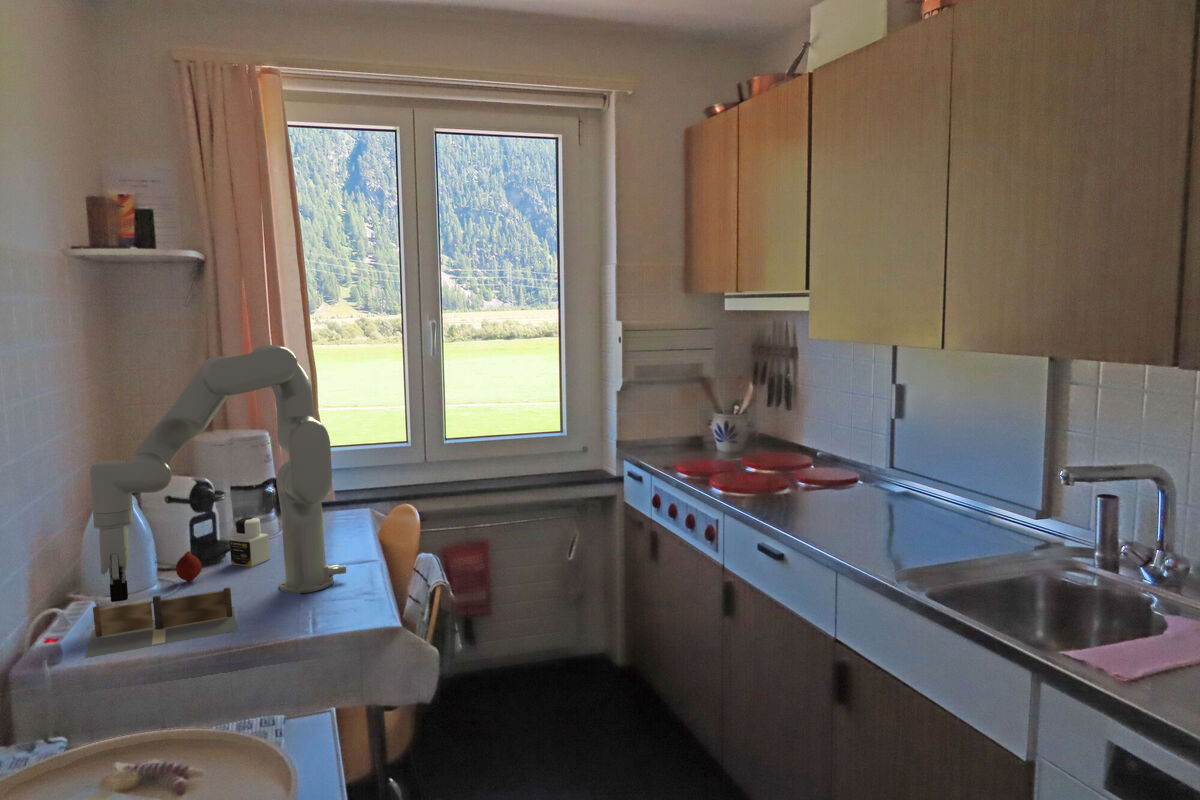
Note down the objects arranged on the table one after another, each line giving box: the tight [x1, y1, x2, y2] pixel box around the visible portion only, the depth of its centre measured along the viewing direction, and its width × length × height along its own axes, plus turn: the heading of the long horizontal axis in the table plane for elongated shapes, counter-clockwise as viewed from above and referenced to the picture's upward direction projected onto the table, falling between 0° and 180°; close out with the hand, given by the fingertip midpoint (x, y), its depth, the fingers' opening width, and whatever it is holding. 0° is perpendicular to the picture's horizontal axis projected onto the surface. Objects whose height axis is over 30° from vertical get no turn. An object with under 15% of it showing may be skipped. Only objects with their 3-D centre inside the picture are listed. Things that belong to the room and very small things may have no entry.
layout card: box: [84, 606, 238, 659], centre depth 181 cm, size 28×16×1 cm, turn 116°
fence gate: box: [92, 600, 154, 637], centre depth 179 cm, size 11×1×6 cm, turn 116°
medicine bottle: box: [229, 516, 271, 568], centre depth 228 cm, size 7×7×12 cm
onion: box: [175, 550, 203, 583], centre depth 213 cm, size 6×6×8 cm
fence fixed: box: [152, 586, 233, 629], centre depth 185 cm, size 15×2×7 cm, turn 116°
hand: (119, 599), depth 185 cm, fingers closed
